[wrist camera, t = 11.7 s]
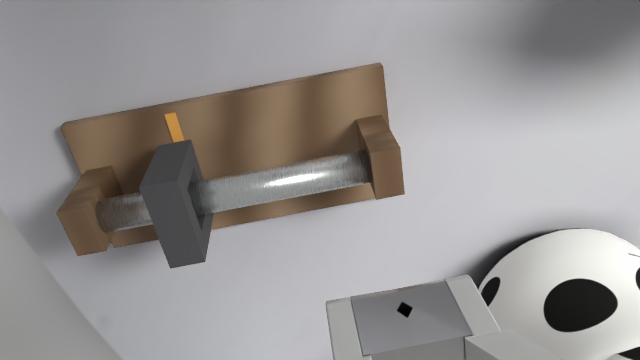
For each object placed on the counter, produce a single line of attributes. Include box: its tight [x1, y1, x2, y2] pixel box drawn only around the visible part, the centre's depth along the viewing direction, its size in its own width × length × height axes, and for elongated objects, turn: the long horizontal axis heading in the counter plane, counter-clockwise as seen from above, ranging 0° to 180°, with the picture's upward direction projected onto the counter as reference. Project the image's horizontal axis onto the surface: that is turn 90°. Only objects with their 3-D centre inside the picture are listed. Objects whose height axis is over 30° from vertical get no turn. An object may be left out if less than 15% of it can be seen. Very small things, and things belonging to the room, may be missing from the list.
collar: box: [139, 139, 214, 268], centre depth 36 cm, size 2×6×6 cm, turn 10°
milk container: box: [478, 228, 640, 360], centre depth 42 cm, size 17×17×18 cm
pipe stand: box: [57, 63, 405, 256], centre depth 37 cm, size 24×11×7 cm, turn 100°
